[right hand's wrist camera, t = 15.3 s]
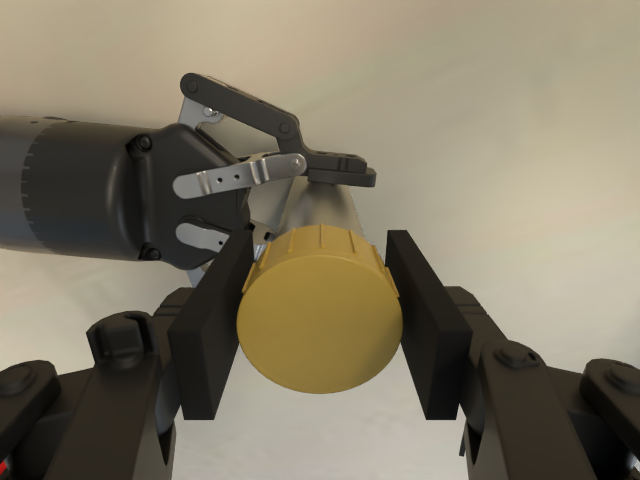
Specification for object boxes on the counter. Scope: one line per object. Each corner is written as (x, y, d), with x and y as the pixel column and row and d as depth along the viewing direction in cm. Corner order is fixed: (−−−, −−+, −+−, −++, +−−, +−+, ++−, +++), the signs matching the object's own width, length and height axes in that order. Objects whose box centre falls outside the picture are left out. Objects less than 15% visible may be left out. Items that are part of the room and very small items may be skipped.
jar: (357, 188, 27) (412, 320, 11) (317, 221, 28) (315, 388, 12) (321, 147, 26) (325, 228, 10) (282, 184, 27) (225, 311, 11)
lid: (302, 193, 11) (297, 218, 9) (418, 274, 12) (440, 314, 10) (224, 301, 12) (203, 346, 10) (334, 365, 14) (336, 417, 11)
